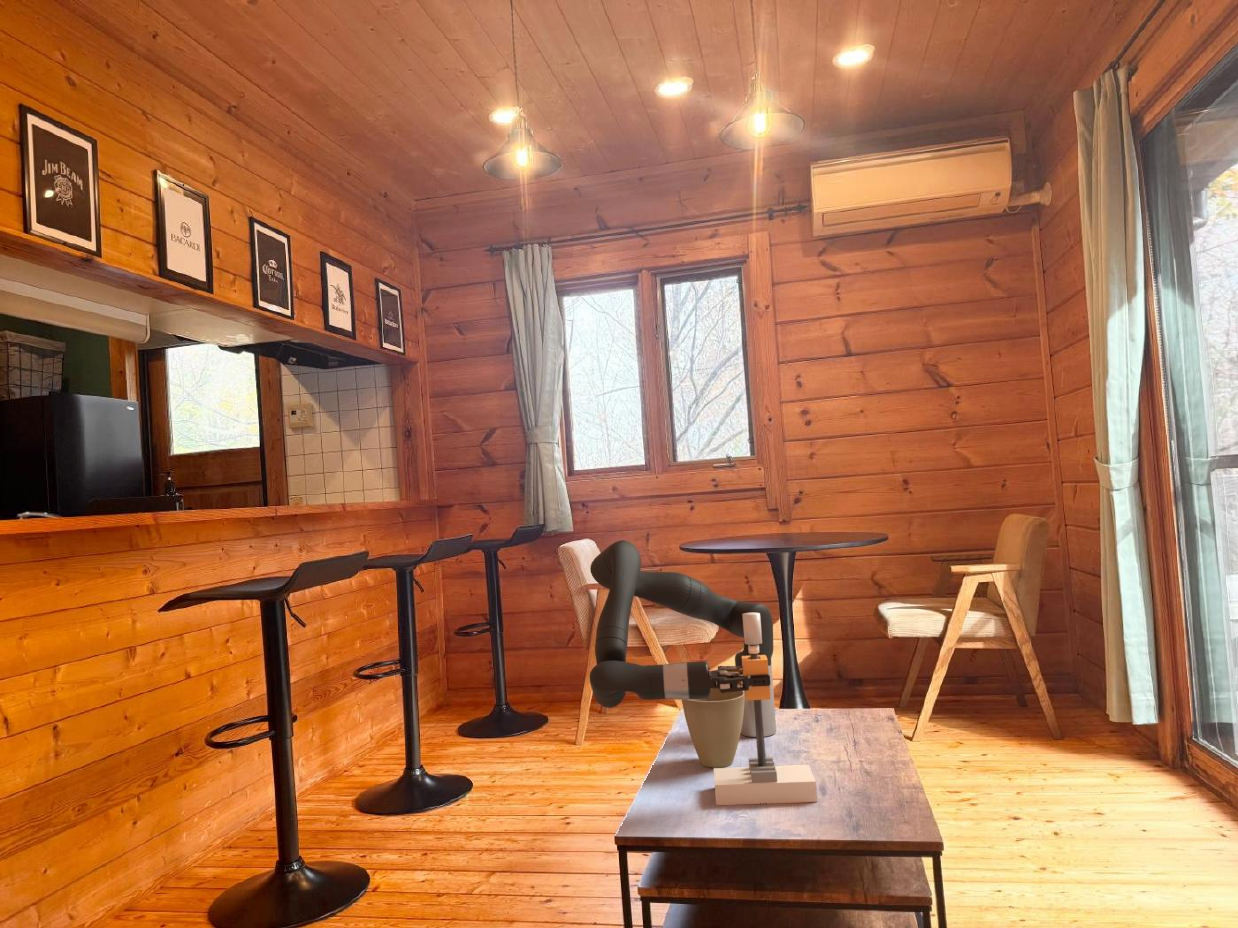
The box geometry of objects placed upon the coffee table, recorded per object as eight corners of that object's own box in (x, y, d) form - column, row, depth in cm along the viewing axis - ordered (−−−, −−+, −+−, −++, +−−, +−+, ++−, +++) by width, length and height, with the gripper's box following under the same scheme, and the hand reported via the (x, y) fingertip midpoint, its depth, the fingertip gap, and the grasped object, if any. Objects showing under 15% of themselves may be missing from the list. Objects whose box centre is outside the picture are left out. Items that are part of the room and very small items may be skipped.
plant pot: (748, 773, 185) (743, 700, 185) (681, 773, 188) (676, 702, 188) (751, 751, 200) (746, 684, 200) (689, 752, 203) (684, 685, 203)
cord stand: (714, 787, 178) (702, 612, 179) (810, 783, 176) (797, 607, 177) (716, 805, 168) (703, 620, 169) (817, 801, 166) (803, 614, 167)
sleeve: (744, 694, 175) (741, 655, 176) (768, 693, 175) (765, 654, 175) (745, 700, 170) (742, 660, 171) (770, 699, 170) (767, 659, 170)
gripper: (684, 669, 167) (770, 665, 166) (685, 655, 181) (764, 651, 180) (687, 707, 167) (773, 703, 165) (687, 690, 181) (767, 686, 180)
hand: (768, 676), depth 173 cm, fingers closed on sleeve, 5 cm apart
